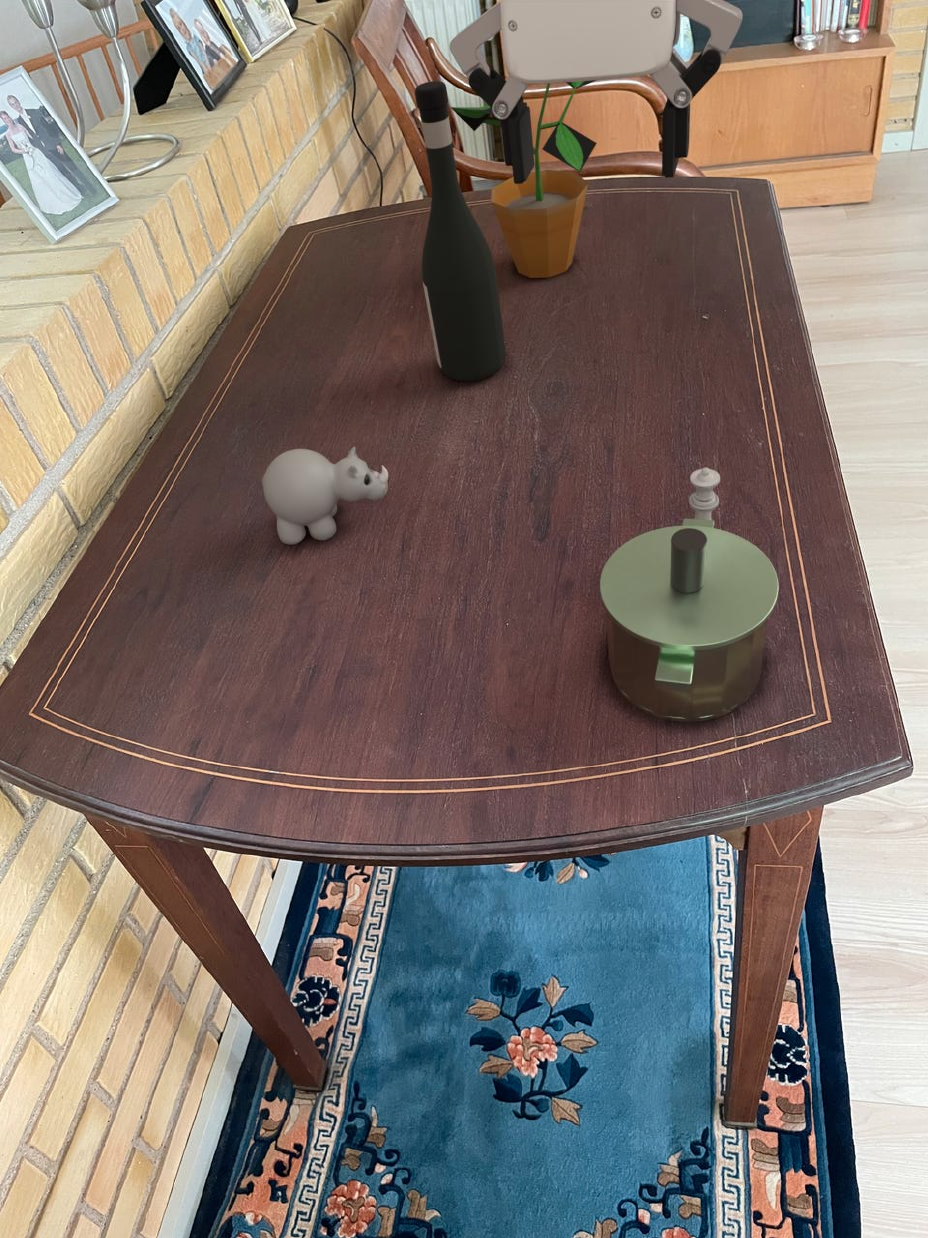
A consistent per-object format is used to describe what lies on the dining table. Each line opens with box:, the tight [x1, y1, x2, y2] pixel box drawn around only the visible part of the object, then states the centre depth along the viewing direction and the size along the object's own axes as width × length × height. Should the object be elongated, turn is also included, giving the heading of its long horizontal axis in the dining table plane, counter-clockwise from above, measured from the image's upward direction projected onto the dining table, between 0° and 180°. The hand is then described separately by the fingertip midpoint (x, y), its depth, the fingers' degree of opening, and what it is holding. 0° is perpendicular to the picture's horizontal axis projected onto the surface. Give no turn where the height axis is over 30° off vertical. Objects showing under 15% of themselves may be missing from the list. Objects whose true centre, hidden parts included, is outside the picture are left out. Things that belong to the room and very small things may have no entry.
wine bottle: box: [414, 80, 507, 383], centre depth 97 cm, size 8×8×30 cm
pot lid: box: [599, 525, 780, 650], centre depth 64 cm, size 12×12×5 cm
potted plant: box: [450, 80, 598, 279], centre depth 113 cm, size 18×19×30 cm
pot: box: [606, 518, 769, 723], centre depth 69 cm, size 11×17×8 cm
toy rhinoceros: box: [261, 446, 389, 546], centre depth 88 cm, size 7×12×8 cm, turn 93°
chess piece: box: [688, 466, 721, 520], centre depth 76 cm, size 4×4×10 cm
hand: (595, 172), depth 60 cm, fingers open, 9 cm apart
